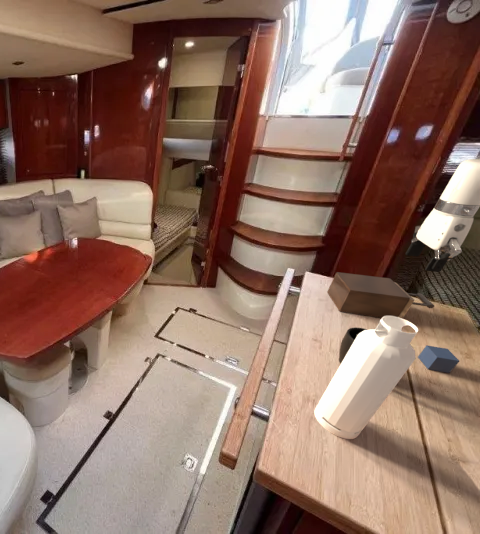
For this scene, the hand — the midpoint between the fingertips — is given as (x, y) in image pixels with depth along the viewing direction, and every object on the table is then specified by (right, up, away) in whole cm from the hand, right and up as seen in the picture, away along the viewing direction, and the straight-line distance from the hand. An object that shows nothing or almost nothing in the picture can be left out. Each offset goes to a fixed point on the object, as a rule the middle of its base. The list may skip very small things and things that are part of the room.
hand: (421, 262), depth 91 cm
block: (-9, -27, -10) cm, 30 cm away
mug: (-30, -28, -11) cm, 43 cm away
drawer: (-2, -14, +10) cm, 18 cm away
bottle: (-45, -36, -23) cm, 62 cm away
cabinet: (-7, -14, +12) cm, 20 cm away
